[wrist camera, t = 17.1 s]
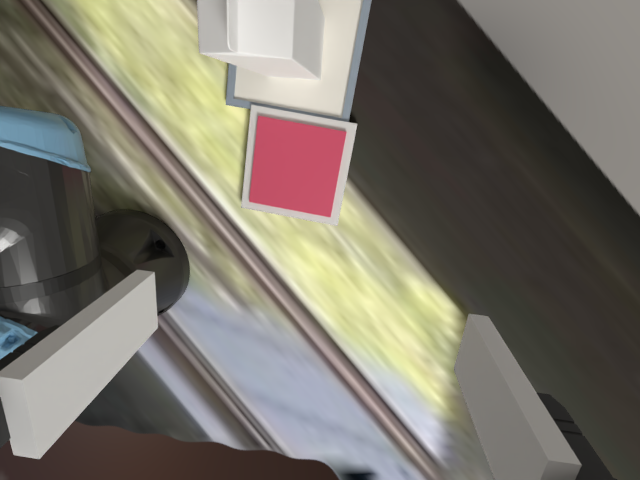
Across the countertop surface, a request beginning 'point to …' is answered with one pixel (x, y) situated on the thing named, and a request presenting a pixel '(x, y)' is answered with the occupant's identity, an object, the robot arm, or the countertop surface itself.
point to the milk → (264, 35)
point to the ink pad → (296, 164)
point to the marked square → (336, 77)
